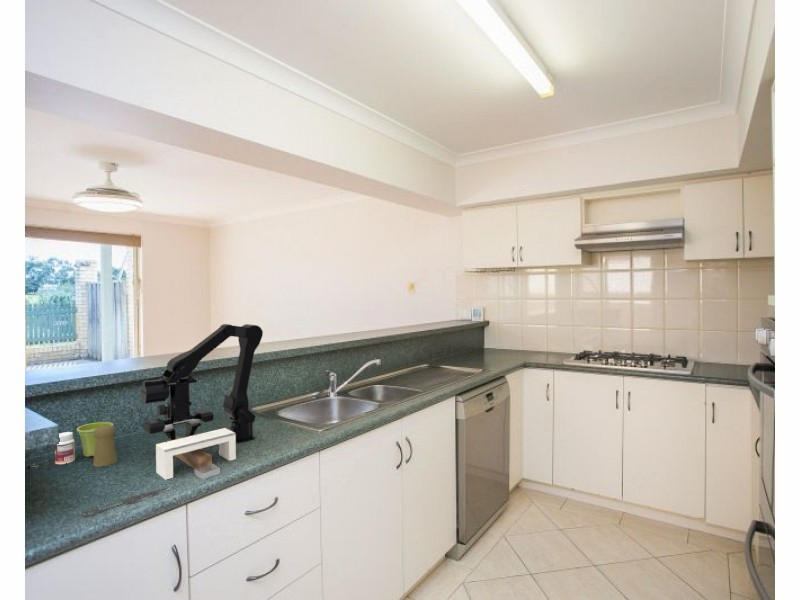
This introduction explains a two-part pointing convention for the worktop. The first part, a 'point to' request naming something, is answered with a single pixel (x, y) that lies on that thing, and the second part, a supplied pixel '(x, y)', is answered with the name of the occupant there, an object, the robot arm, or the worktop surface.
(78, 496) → the worktop surface
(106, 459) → the cork
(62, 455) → the pill bottle
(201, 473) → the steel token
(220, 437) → the white bridge block
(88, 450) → the plant pot
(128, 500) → the throwing knife
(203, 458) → the walnut bar
